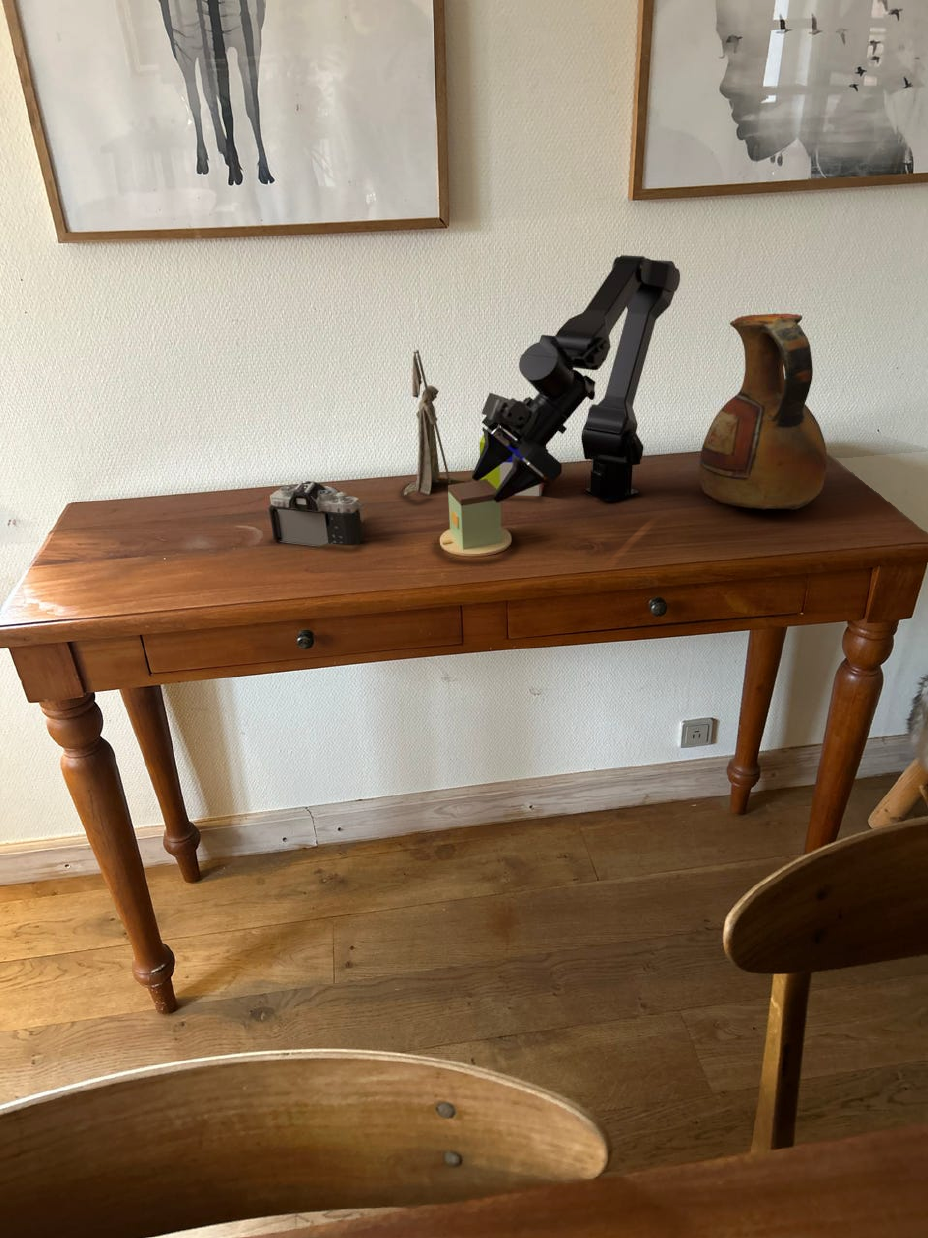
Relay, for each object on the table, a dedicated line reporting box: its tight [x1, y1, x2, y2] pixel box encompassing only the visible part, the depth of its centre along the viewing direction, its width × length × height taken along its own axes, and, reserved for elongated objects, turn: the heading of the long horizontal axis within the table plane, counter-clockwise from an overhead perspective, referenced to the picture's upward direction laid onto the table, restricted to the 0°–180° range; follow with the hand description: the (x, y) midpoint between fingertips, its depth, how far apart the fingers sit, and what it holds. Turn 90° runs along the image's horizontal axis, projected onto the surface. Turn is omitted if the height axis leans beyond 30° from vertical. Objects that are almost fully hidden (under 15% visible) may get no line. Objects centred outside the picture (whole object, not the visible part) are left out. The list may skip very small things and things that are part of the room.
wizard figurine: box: [403, 349, 452, 496], centre depth 152 cm, size 10×8×25 cm
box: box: [439, 479, 513, 558], centre depth 135 cm, size 11×11×8 cm
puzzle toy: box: [479, 427, 547, 497], centre depth 155 cm, size 10×10×10 cm
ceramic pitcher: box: [698, 313, 828, 510], centre depth 141 cm, size 20×20×30 cm
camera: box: [268, 480, 364, 548], centre depth 140 cm, size 16×9×10 cm, turn 71°
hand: (483, 489), depth 134 cm, fingers open, 9 cm apart
